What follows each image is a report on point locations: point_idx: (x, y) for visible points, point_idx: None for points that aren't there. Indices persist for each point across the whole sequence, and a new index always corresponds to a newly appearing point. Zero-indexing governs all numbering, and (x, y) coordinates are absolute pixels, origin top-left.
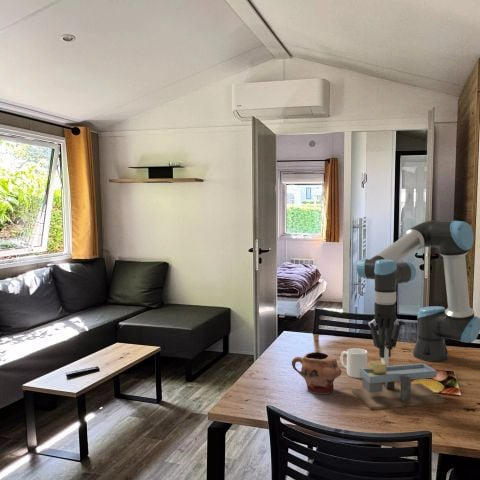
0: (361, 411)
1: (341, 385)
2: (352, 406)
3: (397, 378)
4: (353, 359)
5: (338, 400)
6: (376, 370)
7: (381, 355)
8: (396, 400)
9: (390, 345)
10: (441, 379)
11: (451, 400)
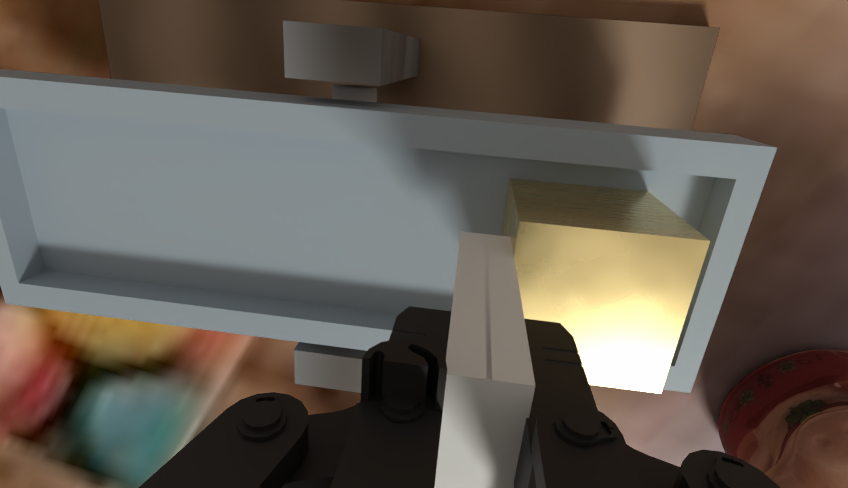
0: (794, 24)
1: (619, 427)
2: (790, 128)
3: (413, 108)
4: None
5: (808, 248)
6: (652, 212)
7: (570, 347)
8: (448, 81)
9: (373, 442)
10: (3, 307)
11: (59, 6)
